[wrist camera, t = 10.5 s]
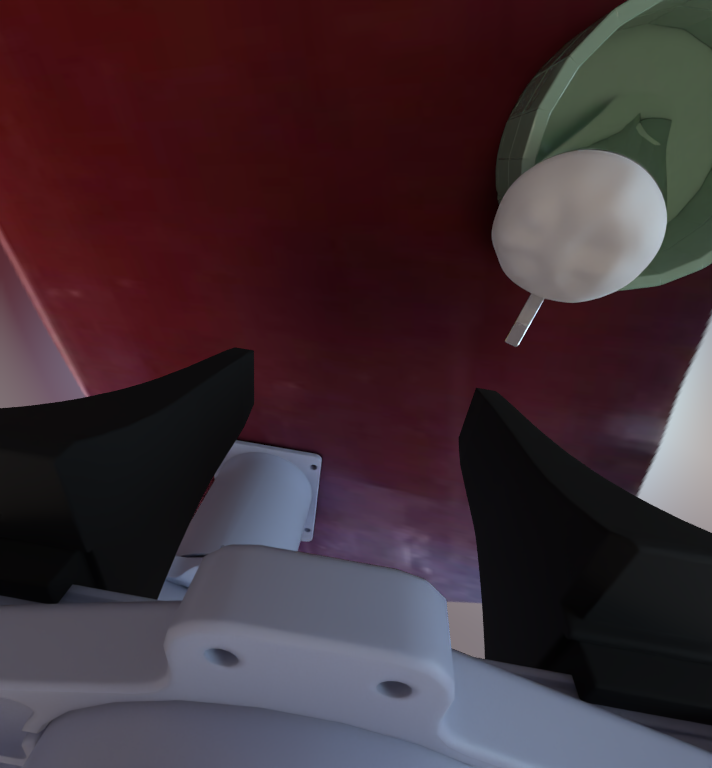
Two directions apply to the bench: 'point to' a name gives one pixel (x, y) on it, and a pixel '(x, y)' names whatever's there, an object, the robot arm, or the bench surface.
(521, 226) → the milkshake cup
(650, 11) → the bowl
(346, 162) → the bench surface
